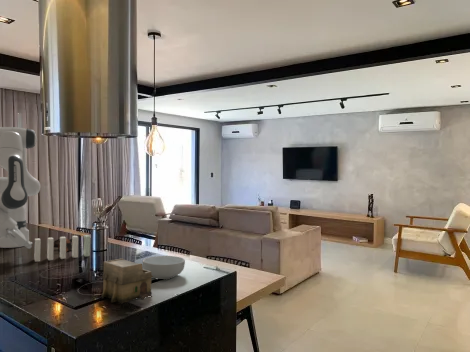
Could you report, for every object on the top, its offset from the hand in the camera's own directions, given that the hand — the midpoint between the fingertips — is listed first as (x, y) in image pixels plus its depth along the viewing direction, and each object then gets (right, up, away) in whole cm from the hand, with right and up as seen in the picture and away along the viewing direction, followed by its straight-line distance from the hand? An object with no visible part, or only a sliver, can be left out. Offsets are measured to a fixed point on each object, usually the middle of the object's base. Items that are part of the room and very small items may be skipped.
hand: (30, 247), depth 167 cm
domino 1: (+2, -6, +2) cm, 7 cm away
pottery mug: (+4, -7, +25) cm, 27 cm away
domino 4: (+16, -7, +11) cm, 20 cm away
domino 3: (+11, -7, +8) cm, 15 cm away
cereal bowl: (+67, -7, -24) cm, 72 cm away
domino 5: (+20, -7, +14) cm, 26 cm away
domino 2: (+7, -7, +5) cm, 10 cm away
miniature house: (+60, -7, -46) cm, 76 cm away
